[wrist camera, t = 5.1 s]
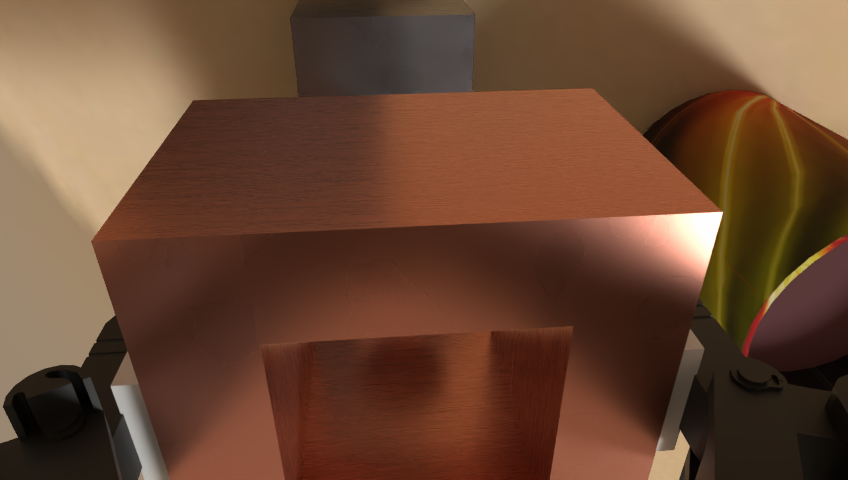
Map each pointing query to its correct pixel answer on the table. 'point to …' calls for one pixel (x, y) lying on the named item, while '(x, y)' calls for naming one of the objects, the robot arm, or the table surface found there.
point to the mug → (770, 228)
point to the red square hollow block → (407, 287)
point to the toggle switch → (382, 47)
